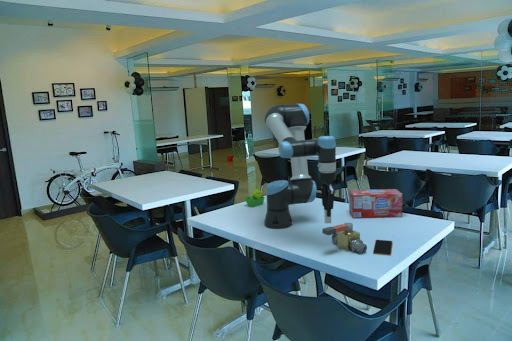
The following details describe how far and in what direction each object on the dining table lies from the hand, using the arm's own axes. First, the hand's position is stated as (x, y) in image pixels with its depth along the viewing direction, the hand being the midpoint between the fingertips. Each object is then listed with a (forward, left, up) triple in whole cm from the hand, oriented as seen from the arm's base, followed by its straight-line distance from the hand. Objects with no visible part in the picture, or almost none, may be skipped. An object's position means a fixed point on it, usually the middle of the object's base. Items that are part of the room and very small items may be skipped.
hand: (327, 222), depth 178 cm
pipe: (+7, +6, -11) cm, 14 cm away
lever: (+7, 0, -4) cm, 8 cm away
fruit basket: (-80, +7, -11) cm, 81 cm away
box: (-21, +51, -11) cm, 57 cm away
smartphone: (+16, +18, -12) cm, 27 cm away
